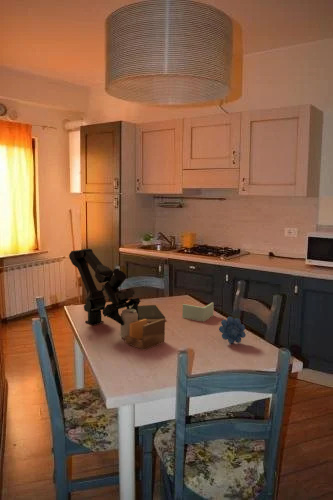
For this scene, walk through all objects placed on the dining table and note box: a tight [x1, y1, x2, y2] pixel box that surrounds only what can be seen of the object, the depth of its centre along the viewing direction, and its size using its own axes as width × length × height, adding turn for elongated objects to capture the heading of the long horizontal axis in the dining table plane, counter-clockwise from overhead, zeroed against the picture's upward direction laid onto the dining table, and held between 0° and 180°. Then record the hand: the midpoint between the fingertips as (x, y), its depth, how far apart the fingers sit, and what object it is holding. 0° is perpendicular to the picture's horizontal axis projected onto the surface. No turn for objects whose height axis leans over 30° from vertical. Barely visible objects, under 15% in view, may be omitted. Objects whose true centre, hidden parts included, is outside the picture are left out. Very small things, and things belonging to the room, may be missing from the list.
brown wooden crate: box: [124, 318, 166, 351], centre depth 174 cm, size 11×12×10 cm
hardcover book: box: [125, 304, 166, 323], centre depth 212 cm, size 16×23×2 cm
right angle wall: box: [182, 301, 215, 323], centre depth 211 cm, size 12×12×8 cm
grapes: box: [218, 316, 246, 344], centre depth 173 cm, size 12×7×12 cm, turn 96°
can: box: [120, 308, 138, 340], centre depth 180 cm, size 8×8×12 cm
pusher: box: [130, 319, 148, 340], centre depth 176 cm, size 1×9×8 cm, turn 139°
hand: (131, 322), depth 179 cm, fingers open, 9 cm apart
